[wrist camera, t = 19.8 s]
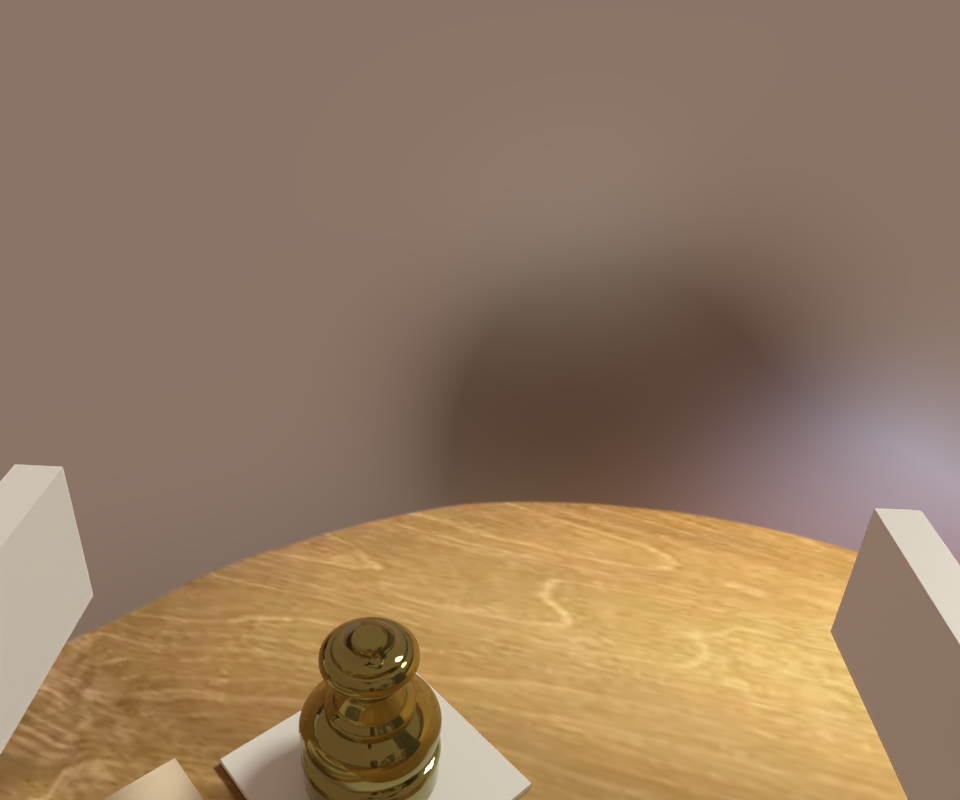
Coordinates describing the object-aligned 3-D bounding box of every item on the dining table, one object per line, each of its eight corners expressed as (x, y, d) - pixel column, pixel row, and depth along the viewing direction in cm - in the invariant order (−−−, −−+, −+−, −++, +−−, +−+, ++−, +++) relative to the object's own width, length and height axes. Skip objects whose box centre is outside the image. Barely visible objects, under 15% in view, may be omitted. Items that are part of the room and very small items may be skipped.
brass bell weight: (434, 710, 50) (439, 581, 45) (445, 829, 44) (451, 693, 39) (306, 718, 49) (296, 587, 44) (298, 840, 43) (285, 704, 38)
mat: (396, 657, 54) (396, 652, 54) (530, 788, 46) (531, 783, 46) (220, 764, 47) (220, 759, 46) (346, 938, 39) (345, 934, 39)
